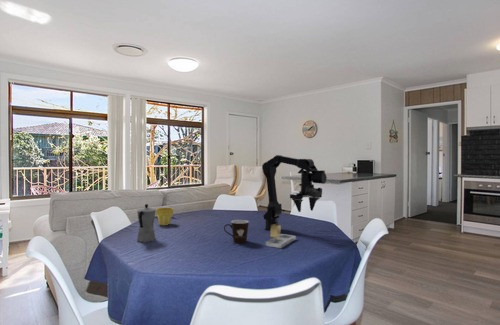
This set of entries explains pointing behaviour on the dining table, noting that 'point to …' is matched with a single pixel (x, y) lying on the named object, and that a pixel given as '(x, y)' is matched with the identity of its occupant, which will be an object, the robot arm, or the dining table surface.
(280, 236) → the rail
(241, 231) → the coffee mug
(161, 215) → the plant pot
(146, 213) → the coffeepot
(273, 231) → the golden block
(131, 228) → the dining table surface
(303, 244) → the dining table surface
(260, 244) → the dining table surface
